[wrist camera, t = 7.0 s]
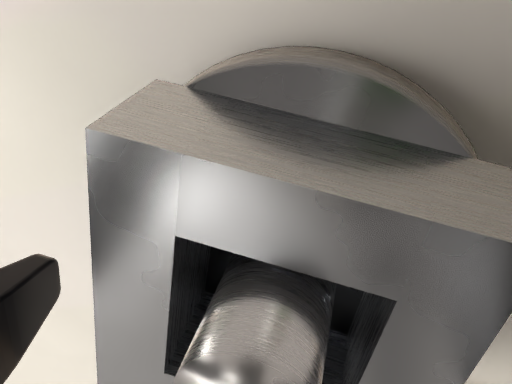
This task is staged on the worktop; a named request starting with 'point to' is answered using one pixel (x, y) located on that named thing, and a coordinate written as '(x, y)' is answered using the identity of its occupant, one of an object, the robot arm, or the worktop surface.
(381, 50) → the worktop surface
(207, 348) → the hub
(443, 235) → the collar
